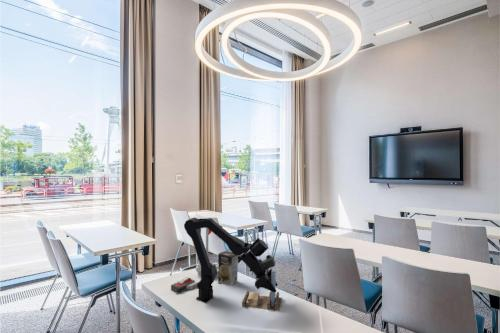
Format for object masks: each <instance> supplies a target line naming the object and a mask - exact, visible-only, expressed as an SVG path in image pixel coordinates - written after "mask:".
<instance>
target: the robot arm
mask: <svg viewBox="0 0 500 333" xmlns="http://www.w3.org/2000/svg"><path fill="white" fill-rule="evenodd" d="M183 228H184V230H185V231H186V232H185V233H186V234H187V235H188V236H189V237H190V239H191V241H192V243H193V247H194V249H195V253H196V256H197V259H198V262H199V265H201V277H200V278H201V279H200V280H199V281H198V282H199V283H198V284H197V287H196V288H197V289H198V296H197V297H196V299H195V300H198V301H201V302H203V303H209V301H211V300H212V299H213V298H214V289H213V285H212V284H214V282H215V280H216V279H217V278H218V270H217V269H216V265H215V264H214V263H213V264H214V265H212V264H211V263H210V258H209V254H208V255H207V252H206V245H205V244H204V240H203V238H202V229H206V228H208V229H209V230H211V231H212V232H211V233H213V234H215V235H216V237H218V238H219V239H220V240H221V241H222V242H224V243H225V244H226V246H227V247H228V249H229V250H230V252H231V253H233V254H235V255H238V264H239V263H240V262H243V263H244V264H245V265H246V266H247V268H249V270H248V271H249V272H250V273H251V272H252V273H253V274H254V275H255V279H256V280H255V282H254V286H255V287H256V289H257V290H258V289H261V288H262V289H265V290H268V291H269V292H270V291H272V292H276V293H277V289H275V287H274V286H273V285H272V283H271V274H272V270H273V267H275V266H276V261H275V258H274V256H271V255H270V254H268V255H266V257H265V259H264V260H262V259H261V258H259V259H258V257H261V256H263V254H264V253H265V252H266V251H267V250H268V249H269V246H268V244H267V243H266V242H265V241H264V240H262V239H260V238H259V237H257V238H256V239H255V241H253V242H252V243H249V242H245V241H244V240H242V239H240V238H239V237H237V236H234V235H232V234H230V233H229V232H228V230H226V229H225V228H223V227H222V226H221V225H220V224H219V223H217V222H216V221H215V220H214V219H213V218H211V217H208V218H197V217H191V218H189V219H187V220H186V221H184V223H183ZM276 287H278V282H277V281H276Z"/></svg>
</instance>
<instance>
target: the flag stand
mask: <svg viewBox="0 0 500 333" xmlns="http://www.w3.org/2000/svg"><path fill="white" fill-rule="evenodd" d="M211 233H213V232H212V231H211V230H209V229H208V228H205V249H206V252H207V255H208V256H209V235H210V234H211ZM209 261H210V260H209ZM210 263H211V264H212V265H214V264H215V265H216V269H217V271H218V262H213V261H210ZM195 271H196V273H197V277H199V278H201V265H200V263H197V264H195Z"/></svg>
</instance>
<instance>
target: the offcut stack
mask: <svg viewBox="0 0 500 333" xmlns="http://www.w3.org/2000/svg"><path fill="white" fill-rule="evenodd" d="M259 296H260V292H255V291H249V296H248V298H247V301H246V305H252V306H257V304H258V300H259Z"/></svg>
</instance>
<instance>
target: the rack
mask: <svg viewBox="0 0 500 333" xmlns="http://www.w3.org/2000/svg"><path fill="white" fill-rule="evenodd" d="M249 294H250V290H246V292H245V294H244V297H243V299H242V301H241V308H249V309H259V310H269V311H270V310H271V311H279V312H280V311H281V306H282V299H283V298H282V297H280V292H279V291H276V300H275V306H271V291H270V290H269V293H268V296H266V295H259V300H258V304H257V306H252V305H246V301H247V298H248V296H249Z"/></svg>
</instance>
